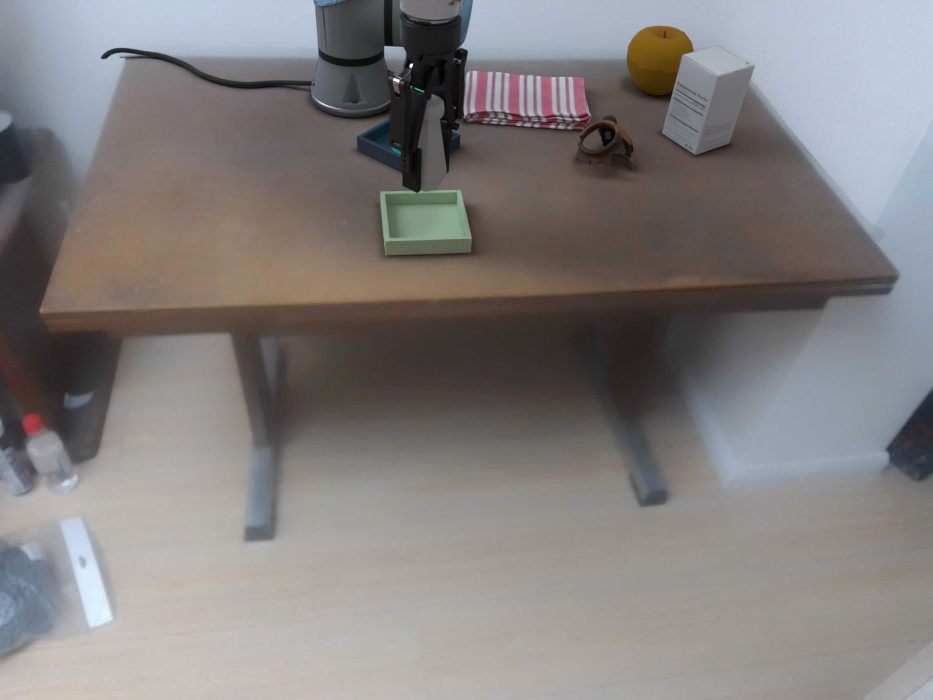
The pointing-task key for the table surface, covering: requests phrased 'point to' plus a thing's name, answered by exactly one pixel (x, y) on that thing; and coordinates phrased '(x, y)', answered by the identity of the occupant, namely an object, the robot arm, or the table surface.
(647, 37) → the apple
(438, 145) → the salt shaker
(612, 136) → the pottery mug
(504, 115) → the dish towel
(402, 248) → the pale tray
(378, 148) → the dark tray
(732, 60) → the rectangular carton
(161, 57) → the robot arm
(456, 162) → the table surface
